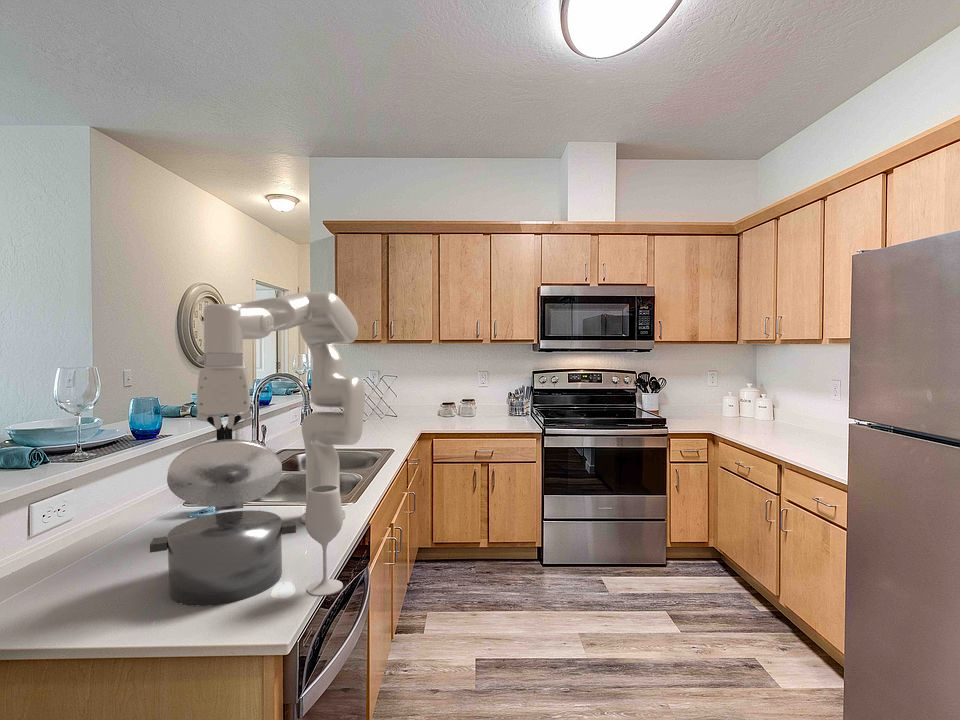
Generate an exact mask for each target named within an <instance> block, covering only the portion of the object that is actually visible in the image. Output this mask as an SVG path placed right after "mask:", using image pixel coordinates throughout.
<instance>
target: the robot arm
mask: <svg viewBox="0 0 960 720" xmlns="http://www.w3.org/2000/svg"><path fill="white" fill-rule="evenodd" d="M298 326H299V332H300V335H301V338H302V339H303V340H304V342H305V343H306V345H307V347H308V349H309V351H310V354H311V357H312V374H311V384H310V385H311V386H310V401H311V403H312V404H313V405H314V406H316V407H318V408H319V407H320V408H340V409H341V408H343V412H341V411H337V412H336V411H314V412H311V413H308V414H307V415H305V417H304V418H303V420H302V422H301V435H302V439H303V445H304V451H305V486H306V487H305V489H306V491H305V494H306V496H305V497H306V502H305V503H306V505H307V498H308V493H309V489H310V488H312V487H315V486H320V485H335V486H338V488H339V492H340V493H341V491H340V489H341V487H340V486H341V485H340V483H341V482H340V478H341V477H340V457H339V453H338V451H337V450H336V447H334V446H353V445H356V444H357V443H359V442H360V439H361V438H362V434H363V428H364V427H363V425H364V414H365V403H366V402H365V400H366V391H365V385H364V383H363V380H362V379H361V378H360V377H358V376H355V375H343V358H342V356H341V353H340V352H339V350H338V349H337V348H336V347H335V346H334V345H349V344H352V343H354V342H355V341H356V339H357V338H358V335H359V326H358V322H357V320H356V319H355V316H354V315H353V314H352V312H351V310H349V308H348V307H347V305H346V304H345V303H344V301H343V300H342V299H341V298H340V297H339V296H338V295H337V294H335V293H333V292H332V291H303V292H302V291H301V292H297V293H292V294H291V293H290V294H288V295H283V296H277V297H269V298H264V299H263V298H262V299H259V300H254V301H253V300H251V301H246V302H238V303H233V304H229V303H211V304H207V305H206V306H205V307H204V309H203V350H204V351H203V354H202V355H200V356H196V358H195V359H196V363H197V364H202V365H203V366H204V368H203V367H202V368H200V369H199V372H198V378H197V390H196V391H197V392H196V410H197V413H196V418H195V420H197V421H200V422H201V421H202V422H206V423H209V424H210V425H211V426H212V427H214V428H215V430H216V440H224V439H233V428H234V427H235V426H236V425H237V424H238V423H239V422H240V421H243V420H246V419H250V418H251V417H252V412H251V408H250V407H251V395H250V394H251V393H250V392H251V390H250V379H249V373H248V369H247V367H244V354H243V353H244V350H243V349H244V345H243V344H244V343H243V341H244V340H260V339H264V338H266V337H268V336H270V334H271V333H272V332H279V331H286V330H289V329H292V328H295V327H298ZM227 415H228V418H227V424H226V425H225V427H224V424H223V423H222V418H221V416H227ZM342 511H343V519H344V518H346V512H345V510H344V509H342ZM305 513H306V512H304V513H302V514H301V516H300V520H301V522H302V523H303V524H305Z"/></svg>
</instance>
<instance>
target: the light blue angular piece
mask: <svg viewBox="0 0 960 720" xmlns="http://www.w3.org/2000/svg"><path fill="white" fill-rule="evenodd" d="M212 509H213V511H212ZM209 510H210V511H212V512H211V513H208V514H207V513H206V512H205V511H207V512H210V511H209ZM201 512H203V513H201ZM198 513H200V514H198ZM217 513H219V511H215V507H212V506H207V507H204V508H202V509H198V510H195V511H191V512H189V513H187V517H188V516H192V517H191V518H198V517H203V516H207V515H212V514H217Z"/></svg>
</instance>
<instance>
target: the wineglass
mask: <svg viewBox="0 0 960 720" xmlns="http://www.w3.org/2000/svg"><path fill="white" fill-rule="evenodd" d="M342 505H343V503H342V498H341V491H340V492H339V488H338V486H335V485H320V486H315V487H312V488H310V489H309V493H308V498H307V505H306V506H305V507H306V508H305V512H304V513H305V523H304V525H305V530H306V531H307V534H308V535H309V536H310V538H312V539H313V540H314V541H316V543H319V544H320V546H321V547H322V575H323V576H322V579H320V580H317V581H314V582H313V583H311V584H310V585H308V586H307V588H306V590H307V594H309V595H311V596H315V597H324V596H331V595H333V594H337V593H339V592H340V591H341V590H342V589H343V587H344V584H343V582H342V581H340V580H338V579H331V578H328V571H327V570H328V569H327V568H328V567H327V556H328V555H327V549H328V546H329V543H330V542H332V541H333V539H334V538H336V537H337V535H338V534H339V533H340V531H341V529H342V526H343V522H344V521H343V520H344V518H343V511H344V510H343V506H342ZM342 510H343V511H342Z"/></svg>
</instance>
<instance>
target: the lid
mask: <svg viewBox="0 0 960 720" xmlns="http://www.w3.org/2000/svg"><path fill="white" fill-rule="evenodd" d="M166 474H167V475H166V483H167V486H168V489H169V490H170V491H171V493H173V495H175V496H176V497H177V498H179V499H181V500H183V501H185V502H188V503H191V504H193V505H198V506H203V507H204V506H205V507H209V506H212V507H214V509H215V511H218V512H221V511H230V510H238V509H244V504H246V503H249V502H252V501H255V500H258V499H260V498H263V497H264V496H265V495H267V494H268V493H270V492H271V491H272V490H273V489H275V488H276V486H277V485H278V484H279V482H280V481H281V478H282V474H283V466H282V461H281V458H280V457H279V455H278V454H277V453H276V452H275V451H274V450H272V448H270V447H268V446H266V445H264V444H261V443H259V442H256V441H251V440H245V439H238V438H237V439H235V438H232V439H224V440H217V439H216V440H211V441H207V442H203V443H200V444H196V445H194V446H191V447H190V448H187V449H185V450H184V451H182V452H181V453H180V454H178V455H177V456H176V457H175V458H174V459H173V460H172V461H171V463H170V464H169V467H168V470H167V473H166Z"/></svg>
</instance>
